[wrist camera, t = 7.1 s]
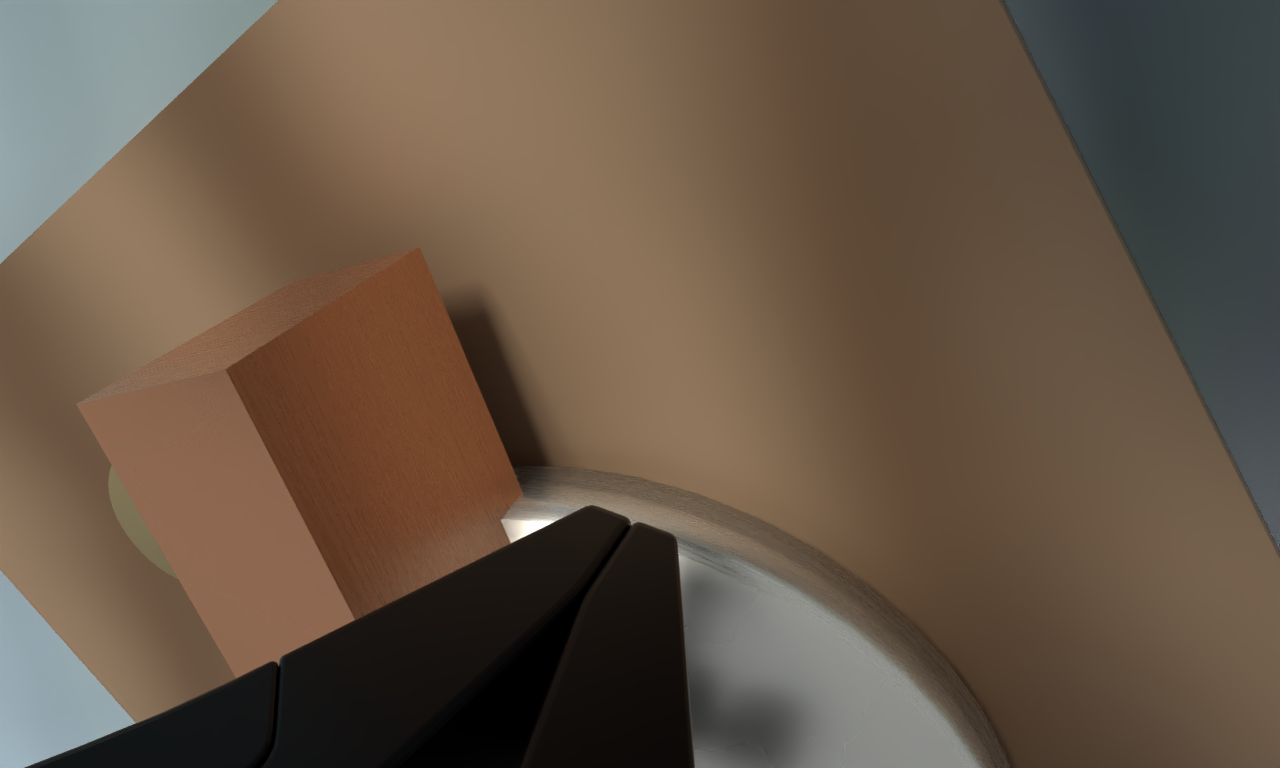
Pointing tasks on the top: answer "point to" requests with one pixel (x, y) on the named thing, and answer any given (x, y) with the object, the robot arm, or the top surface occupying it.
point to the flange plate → (485, 524)
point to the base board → (696, 329)
